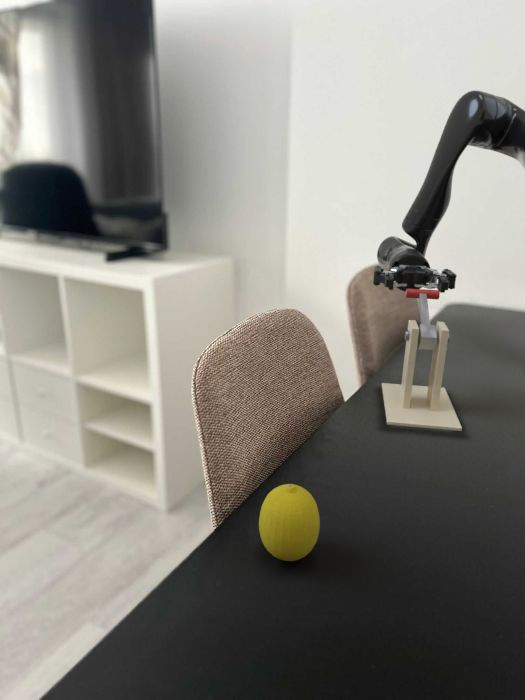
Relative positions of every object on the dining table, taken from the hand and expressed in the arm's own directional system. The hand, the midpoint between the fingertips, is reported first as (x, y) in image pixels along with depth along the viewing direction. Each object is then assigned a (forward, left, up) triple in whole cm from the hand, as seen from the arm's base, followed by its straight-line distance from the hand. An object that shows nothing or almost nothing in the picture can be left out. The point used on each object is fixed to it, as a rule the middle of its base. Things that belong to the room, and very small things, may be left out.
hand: (417, 285), depth 87 cm
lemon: (+28, +44, -16) cm, 55 cm away
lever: (+3, +11, -3) cm, 12 cm away
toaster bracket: (+4, +15, -16) cm, 23 cm away
